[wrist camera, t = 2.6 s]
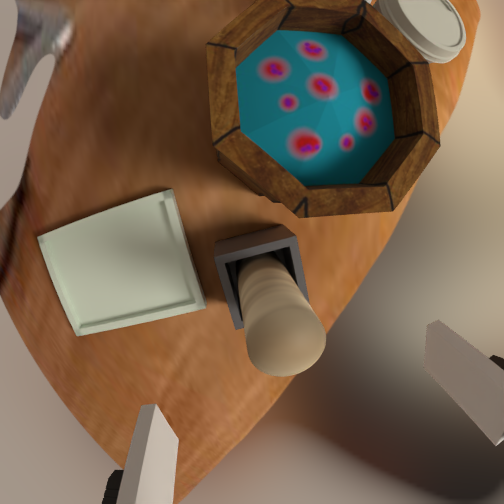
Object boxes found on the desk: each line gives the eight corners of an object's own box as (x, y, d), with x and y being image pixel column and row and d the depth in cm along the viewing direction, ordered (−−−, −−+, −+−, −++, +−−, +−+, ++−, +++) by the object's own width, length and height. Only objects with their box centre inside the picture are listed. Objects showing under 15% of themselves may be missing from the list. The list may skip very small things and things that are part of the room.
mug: (323, 217, 29) (407, 257, 15) (191, 175, 27) (157, 176, 13) (371, 54, 25) (455, 1, 11) (255, 8, 23) (279, -86, 8)
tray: (43, 234, 27) (37, 237, 25) (172, 188, 27) (170, 189, 26) (81, 330, 30) (76, 336, 29) (206, 302, 30) (206, 308, 29)
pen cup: (215, 241, 29) (213, 257, 24) (282, 224, 29) (296, 235, 24) (233, 303, 31) (235, 329, 25) (296, 286, 31) (310, 309, 26)
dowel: (230, 252, 28) (238, 322, 15) (275, 240, 29) (320, 299, 15) (242, 293, 30) (257, 384, 16) (284, 282, 30) (329, 363, 16)
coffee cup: (413, 60, 25) (479, 31, 14) (380, 101, 27) (452, 76, 15) (361, 11, 23) (412, -38, 12) (321, 48, 25) (371, -7, 13)
